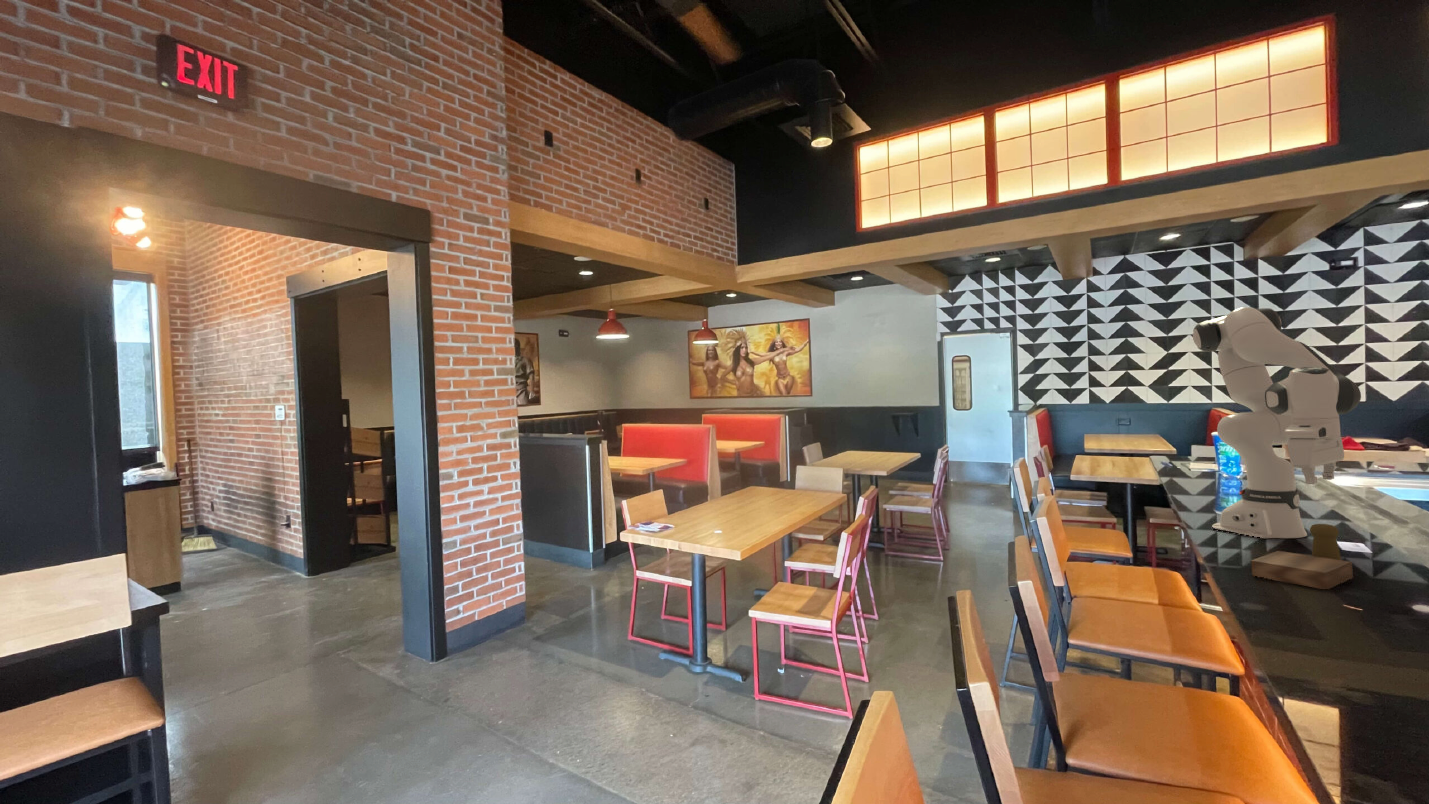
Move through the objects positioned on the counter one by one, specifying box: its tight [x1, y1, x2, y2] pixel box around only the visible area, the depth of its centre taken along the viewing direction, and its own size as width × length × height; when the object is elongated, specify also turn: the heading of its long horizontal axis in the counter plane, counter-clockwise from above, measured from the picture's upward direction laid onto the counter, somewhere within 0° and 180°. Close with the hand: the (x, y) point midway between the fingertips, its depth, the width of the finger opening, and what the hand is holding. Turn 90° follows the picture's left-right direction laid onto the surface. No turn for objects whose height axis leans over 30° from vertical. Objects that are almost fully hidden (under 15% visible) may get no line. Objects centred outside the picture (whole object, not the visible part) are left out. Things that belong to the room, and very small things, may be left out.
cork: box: [1309, 523, 1343, 560], centre depth 153 cm, size 6×6×11 cm
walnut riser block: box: [1250, 550, 1354, 590], centre depth 147 cm, size 14×14×4 cm
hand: (1320, 481), depth 153 cm, fingers open, 8 cm apart
